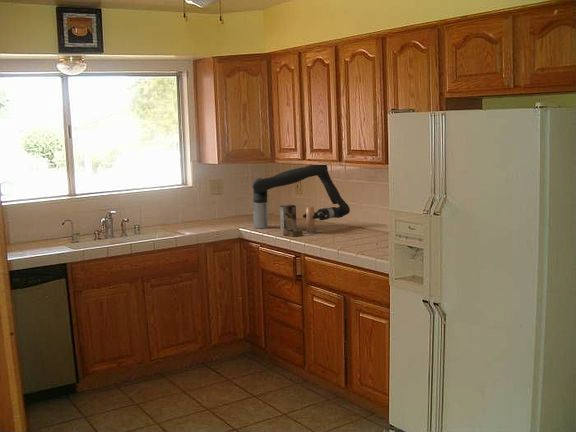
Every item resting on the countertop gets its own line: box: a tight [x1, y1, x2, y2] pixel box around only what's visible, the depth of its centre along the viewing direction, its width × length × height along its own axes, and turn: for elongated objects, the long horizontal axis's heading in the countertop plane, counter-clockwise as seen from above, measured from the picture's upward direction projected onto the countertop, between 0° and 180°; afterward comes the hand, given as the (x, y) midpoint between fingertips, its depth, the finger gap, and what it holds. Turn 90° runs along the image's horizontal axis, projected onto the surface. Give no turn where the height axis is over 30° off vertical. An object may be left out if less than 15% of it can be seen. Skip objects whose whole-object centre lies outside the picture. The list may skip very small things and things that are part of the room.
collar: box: [282, 229, 303, 238], centre depth 422 cm, size 8×8×3 cm
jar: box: [305, 206, 316, 233], centre depth 428 cm, size 5×5×16 cm
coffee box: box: [279, 204, 298, 231], centre depth 444 cm, size 9×6×16 cm
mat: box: [302, 230, 321, 235], centre depth 429 cm, size 9×9×1 cm
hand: (308, 216), depth 427 cm, fingers open, 8 cm apart
